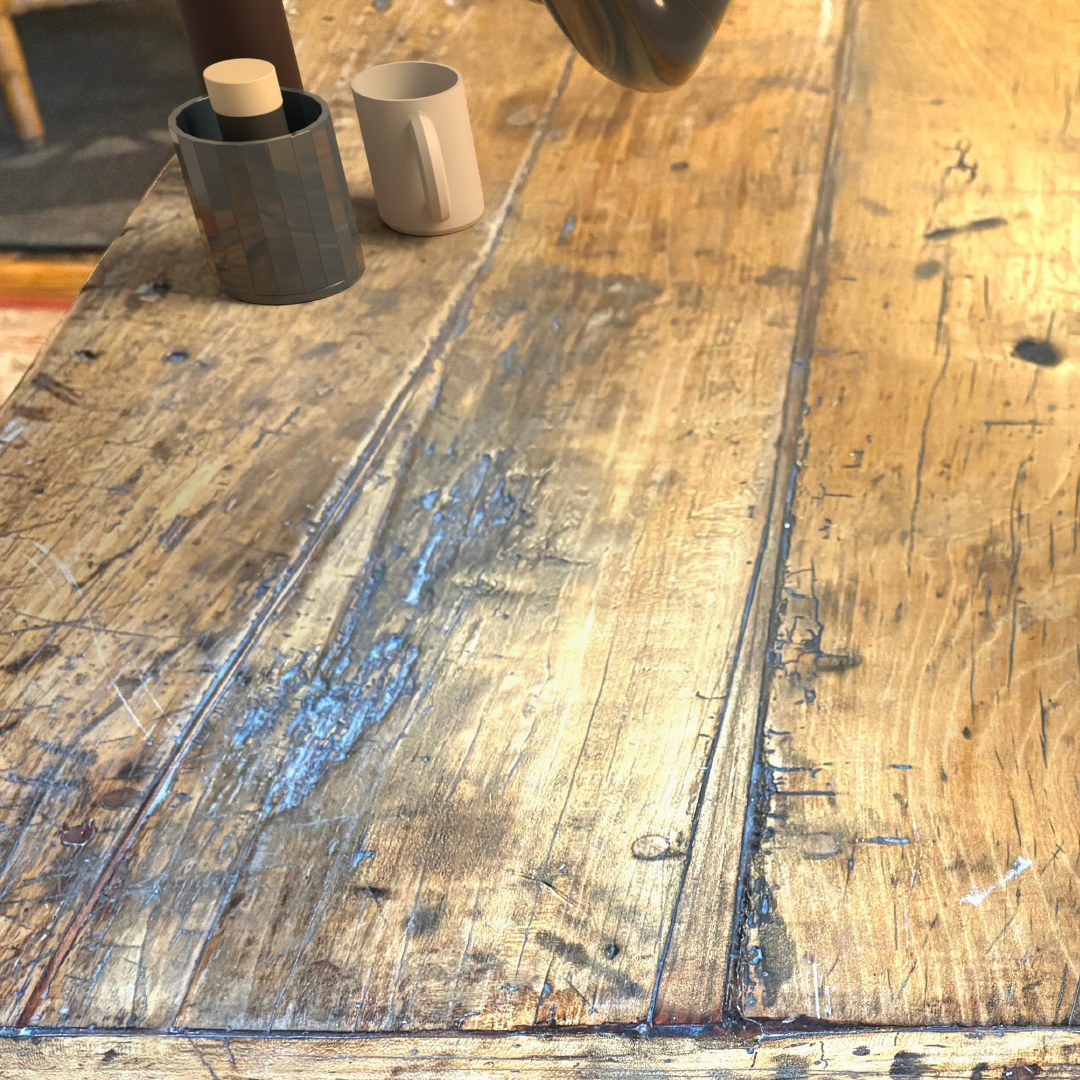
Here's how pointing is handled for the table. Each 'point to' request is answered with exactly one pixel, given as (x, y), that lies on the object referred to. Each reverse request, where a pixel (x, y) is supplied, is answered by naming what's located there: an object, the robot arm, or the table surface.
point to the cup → (419, 146)
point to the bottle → (239, 36)
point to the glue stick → (246, 100)
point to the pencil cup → (271, 203)
